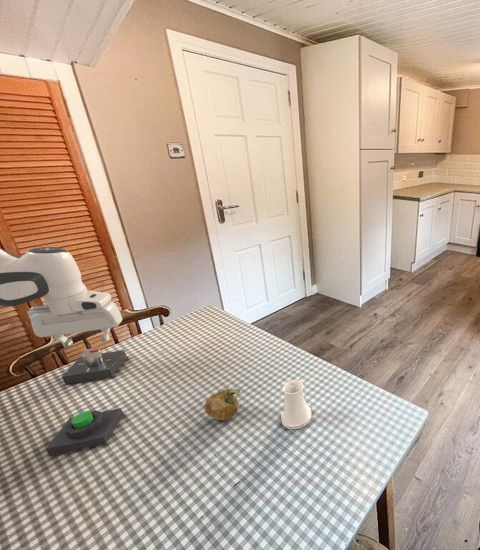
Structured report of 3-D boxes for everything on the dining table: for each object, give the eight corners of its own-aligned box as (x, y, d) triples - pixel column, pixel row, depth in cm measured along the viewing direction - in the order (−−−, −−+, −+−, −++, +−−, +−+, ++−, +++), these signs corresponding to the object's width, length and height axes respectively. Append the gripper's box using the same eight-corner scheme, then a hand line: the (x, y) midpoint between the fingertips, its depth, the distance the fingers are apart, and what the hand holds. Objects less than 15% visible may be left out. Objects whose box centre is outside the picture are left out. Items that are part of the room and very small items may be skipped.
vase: (317, 412, 79) (314, 382, 76) (298, 434, 73) (294, 402, 69) (295, 402, 83) (291, 372, 79) (275, 422, 76) (270, 391, 73)
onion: (223, 400, 83) (217, 377, 80) (247, 408, 81) (242, 384, 78) (201, 421, 77) (194, 397, 74) (226, 430, 74) (220, 406, 71)
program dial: (82, 368, 91) (77, 356, 90) (90, 359, 95) (85, 347, 94) (99, 365, 93) (94, 353, 91) (106, 356, 96) (102, 345, 95)
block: (49, 455, 68) (41, 443, 67) (72, 424, 76) (66, 412, 75) (106, 443, 71) (100, 431, 69) (123, 414, 79) (118, 402, 77)
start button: (70, 430, 70) (67, 424, 69) (79, 418, 73) (76, 412, 73) (88, 426, 71) (86, 421, 70) (96, 415, 74) (94, 409, 74)
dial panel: (65, 384, 89) (61, 376, 88) (84, 363, 98) (80, 355, 97) (112, 377, 92) (109, 368, 91) (127, 357, 101) (124, 349, 100)
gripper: (16, 312, 81) (38, 355, 86) (106, 302, 86) (121, 343, 91) (33, 302, 86) (52, 342, 92) (116, 293, 91) (130, 331, 97)
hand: (87, 342), depth 91 cm, fingers open, 8 cm apart
